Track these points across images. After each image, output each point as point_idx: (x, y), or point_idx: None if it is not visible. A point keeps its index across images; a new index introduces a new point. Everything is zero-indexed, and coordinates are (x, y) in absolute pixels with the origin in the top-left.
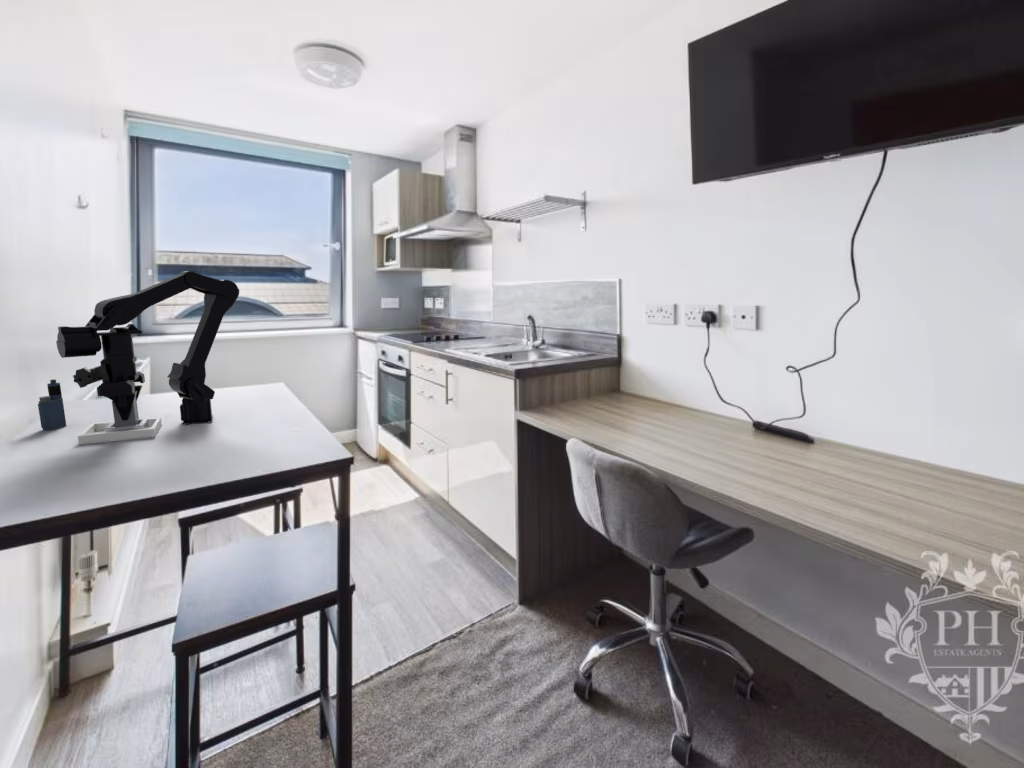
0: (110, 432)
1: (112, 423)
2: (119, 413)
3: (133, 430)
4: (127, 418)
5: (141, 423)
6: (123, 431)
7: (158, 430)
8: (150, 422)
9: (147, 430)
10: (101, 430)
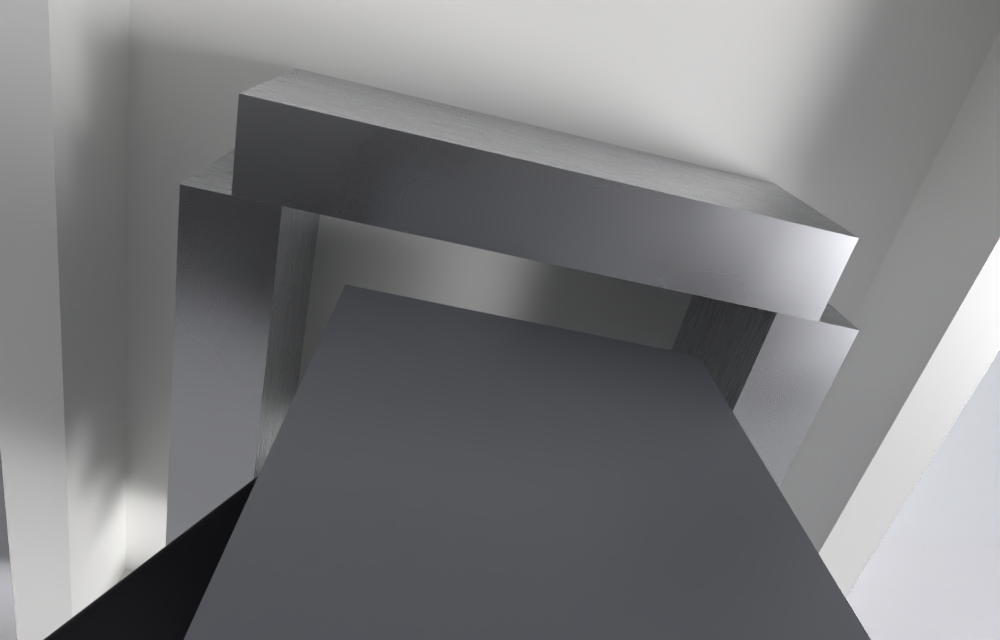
0: (10, 167)
1: (655, 256)
2: (121, 588)
3: (18, 481)
4: None
5: None
6: (8, 359)
7: None
8: None
9: (21, 607)
10: (966, 32)
